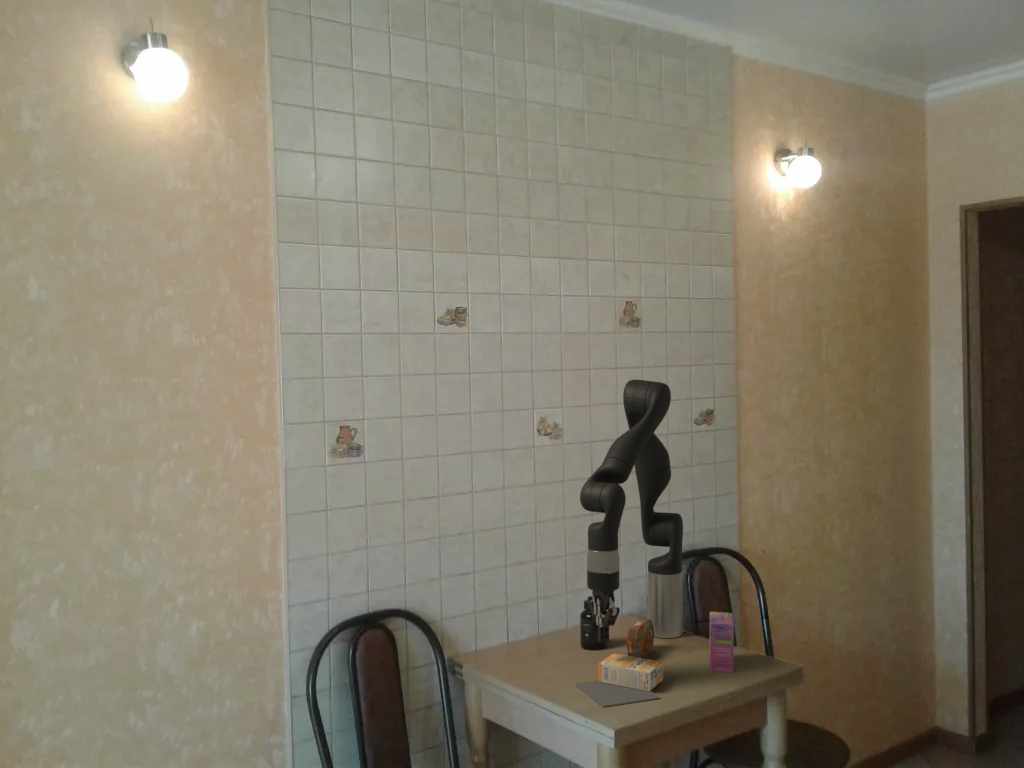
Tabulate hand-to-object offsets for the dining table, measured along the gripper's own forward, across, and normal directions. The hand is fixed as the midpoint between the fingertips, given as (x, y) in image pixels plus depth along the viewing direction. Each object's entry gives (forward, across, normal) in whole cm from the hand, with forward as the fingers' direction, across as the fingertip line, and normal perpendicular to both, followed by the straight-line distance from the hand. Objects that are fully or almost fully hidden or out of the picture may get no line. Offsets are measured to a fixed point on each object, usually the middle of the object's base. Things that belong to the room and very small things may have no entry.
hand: (603, 641), depth 218 cm
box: (+10, -1, +32) cm, 34 cm away
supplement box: (+7, -2, +1) cm, 7 cm away
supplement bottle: (+10, -26, +9) cm, 29 cm away
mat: (+10, +6, 0) cm, 12 cm away
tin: (+10, -15, +17) cm, 25 cm away
